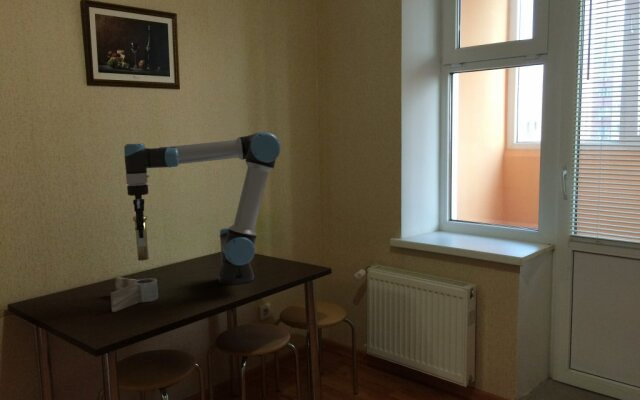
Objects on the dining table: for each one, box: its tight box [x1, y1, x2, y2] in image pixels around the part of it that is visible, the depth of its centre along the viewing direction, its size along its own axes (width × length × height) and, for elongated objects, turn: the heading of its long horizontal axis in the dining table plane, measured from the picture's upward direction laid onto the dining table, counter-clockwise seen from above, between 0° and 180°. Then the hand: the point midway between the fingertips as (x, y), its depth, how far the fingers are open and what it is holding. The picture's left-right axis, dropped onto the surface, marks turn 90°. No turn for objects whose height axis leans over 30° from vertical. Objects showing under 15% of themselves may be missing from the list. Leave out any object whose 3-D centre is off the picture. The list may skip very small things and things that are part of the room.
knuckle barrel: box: [134, 277, 159, 303], centre depth 203 cm, size 8×8×7 cm
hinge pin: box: [132, 215, 150, 262], centre depth 201 cm, size 5×5×17 cm
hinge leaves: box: [110, 276, 141, 313], centre depth 200 cm, size 17×17×7 cm
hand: (142, 244), depth 201 cm, fingers closed on hinge pin, 4 cm apart
